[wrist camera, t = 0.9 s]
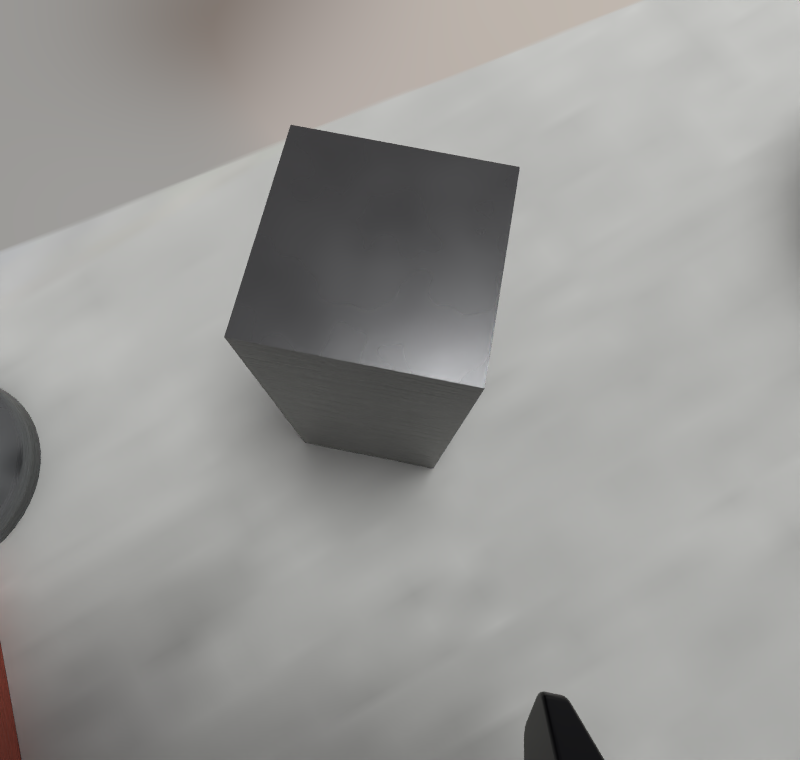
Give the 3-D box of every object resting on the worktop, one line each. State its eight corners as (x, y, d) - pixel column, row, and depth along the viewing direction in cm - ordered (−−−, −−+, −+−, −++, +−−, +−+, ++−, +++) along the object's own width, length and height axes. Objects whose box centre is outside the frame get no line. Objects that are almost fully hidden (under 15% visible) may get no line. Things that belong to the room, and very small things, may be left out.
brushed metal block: (433, 468, 23) (484, 388, 11) (305, 442, 23) (224, 337, 11) (454, 347, 24) (519, 166, 13) (334, 323, 24) (290, 125, 13)
